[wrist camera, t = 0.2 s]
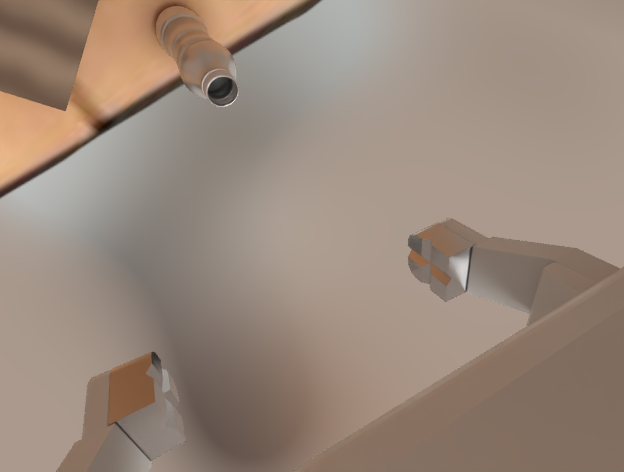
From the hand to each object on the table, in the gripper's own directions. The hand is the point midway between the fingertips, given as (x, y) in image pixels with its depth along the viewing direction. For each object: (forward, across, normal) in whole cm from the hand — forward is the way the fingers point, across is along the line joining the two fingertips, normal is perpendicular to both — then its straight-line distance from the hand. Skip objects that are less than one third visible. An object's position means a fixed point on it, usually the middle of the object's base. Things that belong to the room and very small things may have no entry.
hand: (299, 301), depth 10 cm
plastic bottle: (+52, -6, -7) cm, 53 cm away
